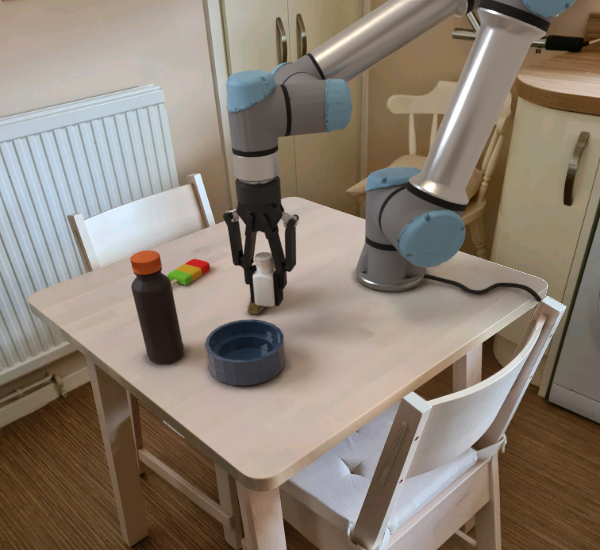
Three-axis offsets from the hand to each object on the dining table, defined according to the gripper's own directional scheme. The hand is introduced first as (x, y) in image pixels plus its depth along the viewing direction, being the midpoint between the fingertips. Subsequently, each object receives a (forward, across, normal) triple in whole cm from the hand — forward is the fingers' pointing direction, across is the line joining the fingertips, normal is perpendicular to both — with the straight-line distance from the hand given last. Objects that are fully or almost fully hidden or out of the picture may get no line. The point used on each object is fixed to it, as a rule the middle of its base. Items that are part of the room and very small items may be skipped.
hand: (267, 300), depth 117 cm
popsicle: (+7, +27, -15) cm, 32 cm away
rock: (+7, +6, -10) cm, 14 cm away
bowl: (+7, 0, +12) cm, 14 cm away
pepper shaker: (+1, 0, 0) cm, 1 cm away
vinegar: (+7, +16, +13) cm, 22 cm away
